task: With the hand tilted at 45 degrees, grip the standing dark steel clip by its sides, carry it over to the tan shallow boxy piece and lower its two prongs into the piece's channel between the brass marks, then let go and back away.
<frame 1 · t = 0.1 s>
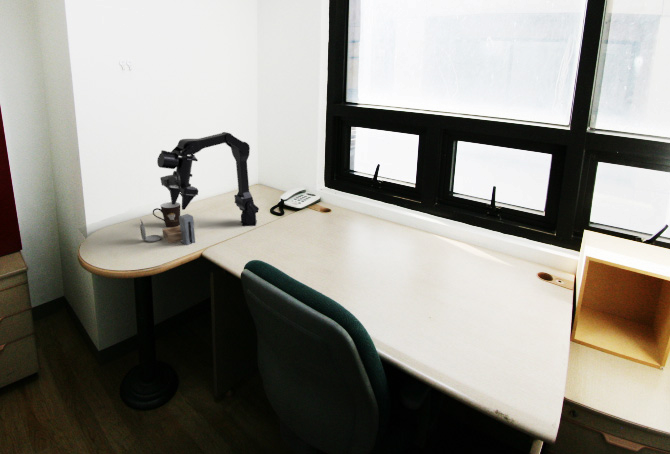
hand: (178, 207, 187), 15 cm above the table, tool pointing down, fingers open, 9 cm apart
clip: (188, 242, 191), on the table
coffee mug: (169, 225, 210), on the table
pocket watch: (150, 240, 193), on the table
tan shallow boxy piece: (177, 237, 196), on the table
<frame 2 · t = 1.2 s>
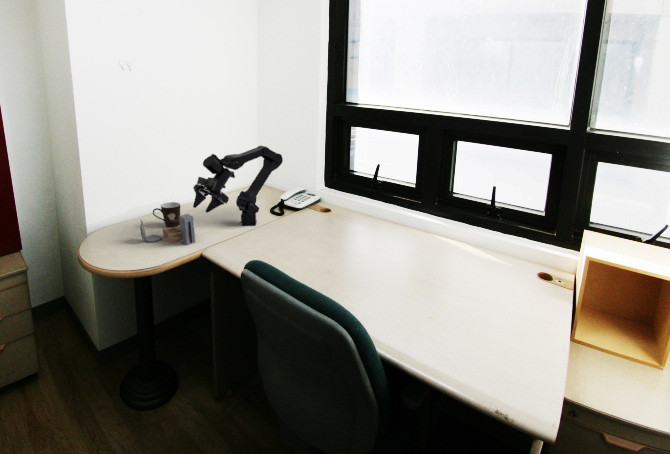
hand: (200, 209, 191), 13 cm above the table, tool tilted 45°, fingers open, 9 cm apart
nothing on the table moved.
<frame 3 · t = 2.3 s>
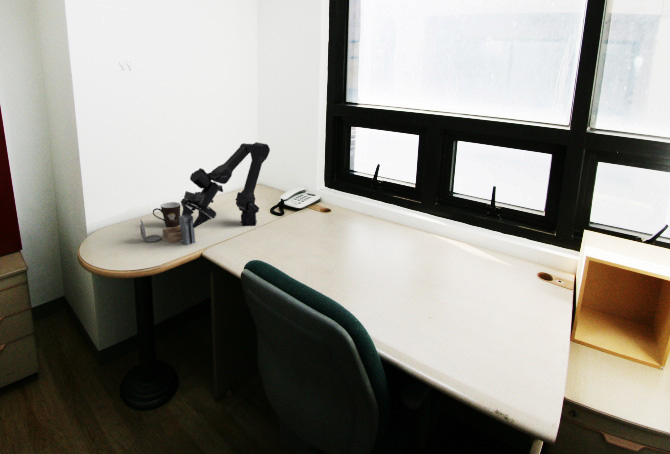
hand: (187, 224, 188), 8 cm above the table, tool tilted 45°, fingers open, 9 cm apart
nothing on the table moved.
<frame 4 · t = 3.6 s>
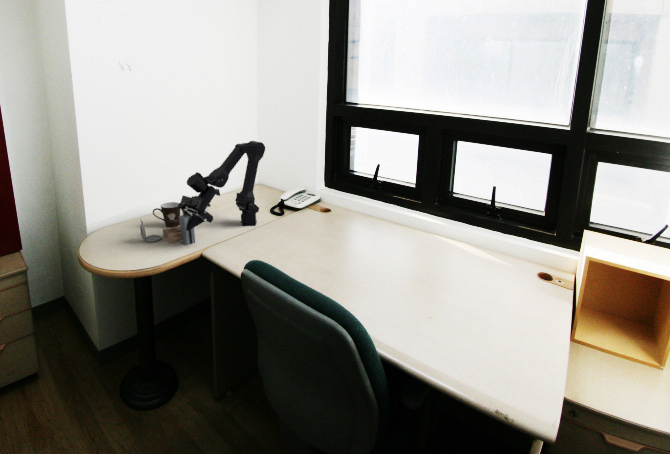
hand: (184, 229, 187), 7 cm above the table, tool tilted 45°, fingers closed on clip, 4 cm apart
clip: (188, 242, 191), on the table, touching gripper
everything else where it was.
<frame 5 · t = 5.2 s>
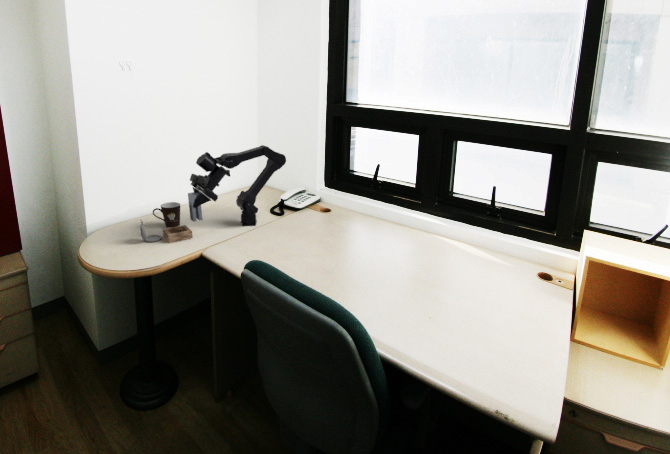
hand: (191, 206, 195), 13 cm above the table, tool tilted 45°, fingers closed on clip, 4 cm apart
clip: (196, 219, 198), point 7 cm above the table, touching gripper
everything else where it was.
when the fingers open (9 cm above the table, at t = 7.0 s): clip drops 1 cm, resting on tan shallow boxy piece.
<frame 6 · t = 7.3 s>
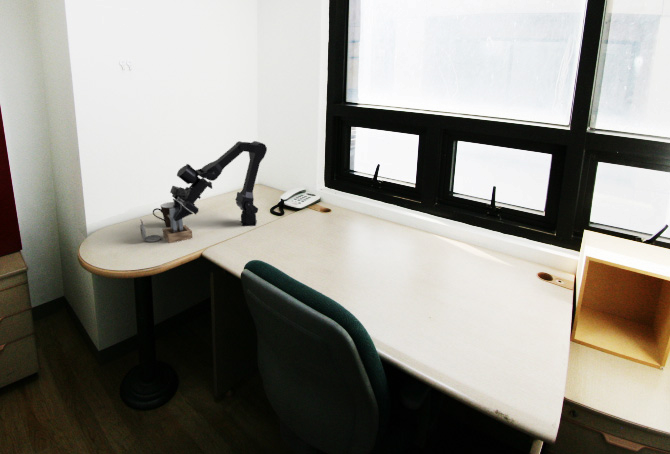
hand: (172, 218, 192), 9 cm above the table, tool tilted 45°, fingers open, 6 cm apart
clip: (177, 235, 196), point 1 cm above the table, touching tan shallow boxy piece
everything else where it was.
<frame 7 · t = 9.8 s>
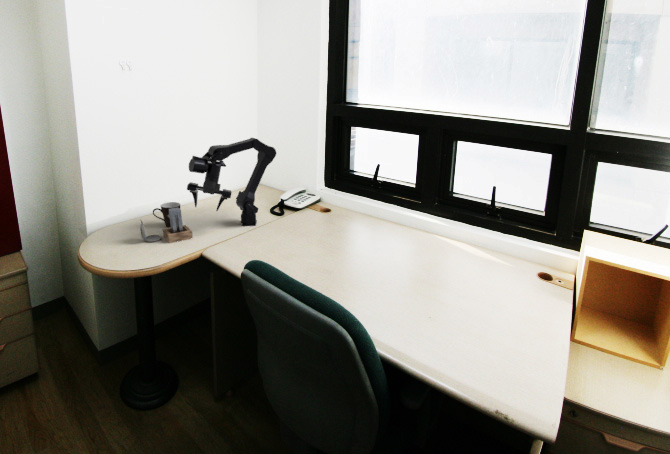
hand: (206, 209, 199), 11 cm above the table, tool tilted 15°, fingers open, 9 cm apart
nothing on the table moved.
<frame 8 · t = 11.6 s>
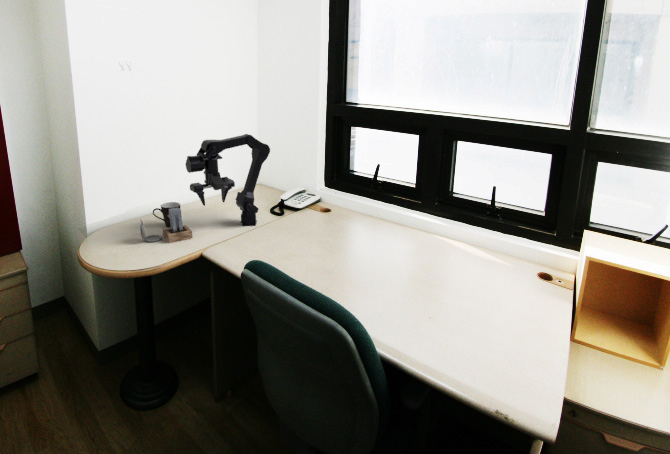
hand: (213, 203, 200), 13 cm above the table, tool pointing down, fingers open, 9 cm apart
nothing on the table moved.
at the end: clip 0.1 cm from the tan shallow boxy piece (horizontally); clip point 1.0 cm above the table; clip tilted 0° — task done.
